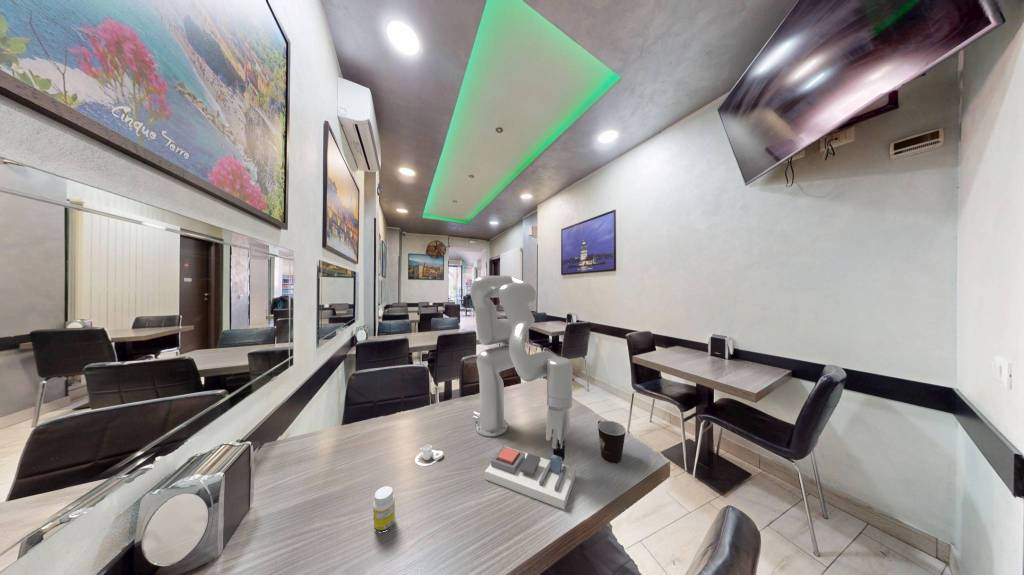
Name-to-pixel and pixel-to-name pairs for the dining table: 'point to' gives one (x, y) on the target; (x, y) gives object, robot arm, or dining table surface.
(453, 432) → the dining table surface
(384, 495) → the supplement bottle
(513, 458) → the button
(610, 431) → the coffee mug
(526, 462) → the block
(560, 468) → the paddle
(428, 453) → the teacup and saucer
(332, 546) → the dining table surface
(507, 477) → the panel
